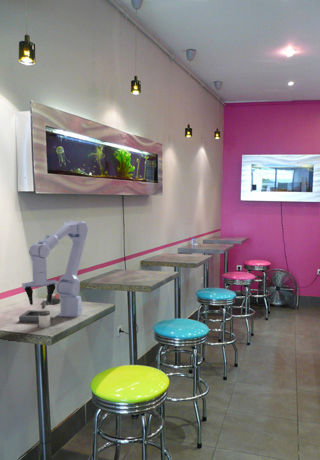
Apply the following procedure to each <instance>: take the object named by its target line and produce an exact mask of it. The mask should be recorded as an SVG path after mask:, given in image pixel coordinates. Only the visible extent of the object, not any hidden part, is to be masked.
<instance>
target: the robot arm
mask: <svg viewBox="0 0 320 460" xmlns="http://www.w3.org/2000/svg"><path fill="white" fill-rule="evenodd" d="M88 230H89V227H88V225H87V223H86V221H83V220H82V221H80V220H79V221H77V220H75V221H74V220H66V221H65V222H64V223H63V224H62V226H61V227H60V228H59V229H58V230H57V231H55V232H54V234H49V233H48V234H46V236H45V237H44V238H43V239H41V240H39V242H38V243H33V244H31V246H30V247H29V250H28V254H29V256H30V258H31V263H32V281H29V282H28V281H27V282H23V283H21V288H22V289H23V290H24V291H25V293H26V295H27V297H28V302H29V304H30V306H32V305H33V304H34V301H33V300H34V299H33V295H34V294H33V293H34V290H33V288H37V287H46V291H47V295H48V298H47V299H48V302H51V297H52V294H53V293H55V289H56V292H57V294H59V296H60V309H59V310H60V312H59V313H58V314H57V317H66V318H69V317H71V318H72V317H73V318H78V317H79V316H80V315H81V314H82V313H83V310H82V306H83V305H82V304H83V303H82V297H81V295H78V294H79V293H80V290H81V288H80V287H81V286H80V285H81V280H80V279H79V278H78V276H77V275H78V271H79V267H80V265H81V259H82V255H83V252H84V247H85V243H86V239H87V235H88ZM66 236H68V238H69V239H70V240H71V241H72V245H71V250H70V253H69V257H68V262H67V264H66V269H65V272H64V274H63V275H61V276H60V277H59V280H57V279H50V280H49V279H47V278H48V277H47V276H48V275H47V273H48V271H47V257H48V256H49V254H50V252H51V250H53V248H55V247H56V246H58V244H59V241H60V240H62V239H63V238H64V237H66Z"/></svg>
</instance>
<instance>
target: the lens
mask: <svg viewBox="0 0 320 460" xmlns="http://www.w3.org/2000/svg"><path fill="white" fill-rule="evenodd" d="M40 311H41V312H39V323H38V327H39V328H40V329H45V328H50V327H51V311H49V310H40Z"/></svg>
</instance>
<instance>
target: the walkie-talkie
mask: <svg viewBox="0 0 320 460" xmlns="http://www.w3.org/2000/svg"><path fill="white" fill-rule="evenodd" d="M47 298H48V294H47V296H46V297H44V298H43V299H42V302H41V303H42V305H43V306H42V307H44V308H45V307H46V305H58V304H60V296H59V293H56V292H53V294H52V297H51V302H48V299H47Z"/></svg>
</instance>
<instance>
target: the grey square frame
mask: <svg viewBox="0 0 320 460" xmlns="http://www.w3.org/2000/svg"><path fill="white" fill-rule="evenodd" d="M41 311H42V310H32V309H31V310H26V311H24V313H22V314H21V315H20V316H19V317H18V322H19V323H31V324H32V323H34V324H37V323H38V324H39V312H41Z"/></svg>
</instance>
